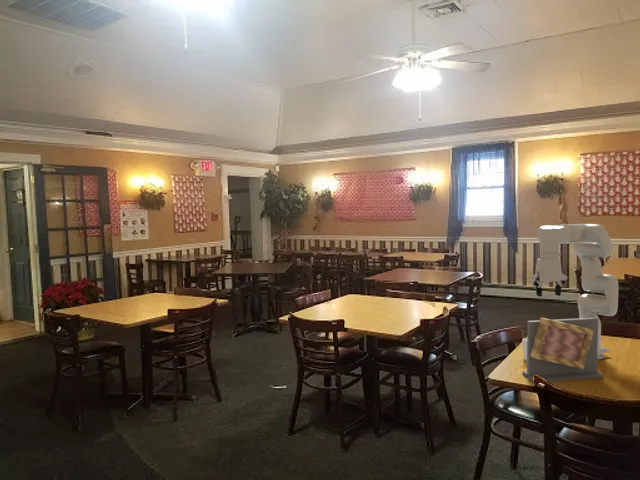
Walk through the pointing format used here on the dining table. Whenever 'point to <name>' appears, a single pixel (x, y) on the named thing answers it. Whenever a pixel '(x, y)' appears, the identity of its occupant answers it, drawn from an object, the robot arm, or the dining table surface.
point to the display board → (561, 371)
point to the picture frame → (561, 343)
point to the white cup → (524, 348)
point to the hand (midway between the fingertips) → (548, 295)
